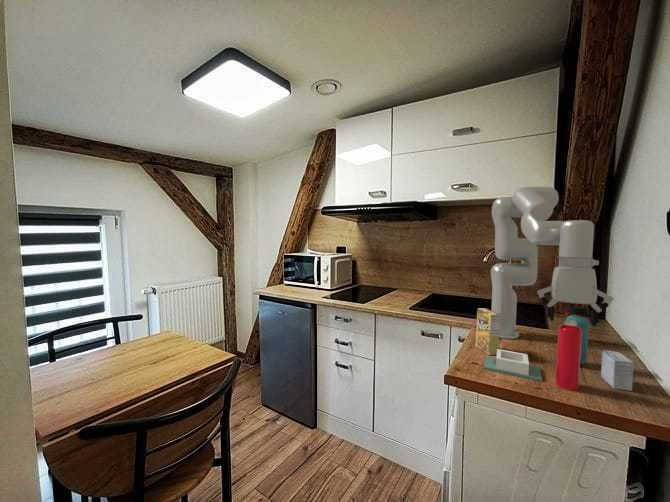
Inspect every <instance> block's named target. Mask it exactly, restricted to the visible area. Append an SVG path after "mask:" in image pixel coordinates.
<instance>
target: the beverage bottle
mask: <svg viewBox="0 0 670 502" xmlns="http://www.w3.org/2000/svg"><path fill="white" fill-rule="evenodd" d="M570 313H571V314H570V315H569V316H567V317H566V318H565V320H567V319H573V320H574V321H575V322H577V326H578V327H579V328H580V329H581V330H582V342H581V357H580V364H586V363H587V360H588V350H589V349H588V348H589V327H590V320H589V319H588V318H586V317H585V316H583V315H587V312H586V308H585V307H583V306H577V305H572V306H570Z"/></svg>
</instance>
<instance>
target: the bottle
mask: <svg viewBox="0 0 670 502" xmlns="http://www.w3.org/2000/svg"><path fill="white" fill-rule="evenodd" d="M557 328H558V332H557V348H556V351H557V352H556V361H555V362H556V363H555V364H556V366H555V378H554V379H555V381H554V383H555V385H556V386H558V387H560V388H562V389H564V390H569V391H578V390H579V388H580V385H579V383H580V371H581V363H580V357H581V342H582V330H581V329H580V328H579V327H578V326H577V322H575V321H574V320H573V319H567V320H566V319H565V320H564V323H563V324H560V325H559V326H558V327H557Z"/></svg>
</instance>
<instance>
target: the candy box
mask: <svg viewBox="0 0 670 502" xmlns="http://www.w3.org/2000/svg"><path fill="white" fill-rule="evenodd" d="M476 309H477V312H476V331H475V347H477V348H478V349H480V350H481V351H483V352H484V353H486V354H487V356H497V349H499V347H500V345H499V344H500V338H499V333H500V317H501V315H500V314H498V313H496V312H493V311H491V309H489V308H487V307H485V308H481V307H480V308H476Z"/></svg>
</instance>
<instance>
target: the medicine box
mask: <svg viewBox="0 0 670 502" xmlns="http://www.w3.org/2000/svg"><path fill="white" fill-rule="evenodd" d="M600 377H601V378H602V379H603V380H604V381H605V382H606V383H608V385H610V387H612V389H614V390H621V391H628V392H631V391H633V379H634V378H633V377H634V362H633V361H632V360H631V359H630V358H628V357H627V356H625V355H624V354H623V353H621V352H617V351H611V350H602V353H601V368H600Z"/></svg>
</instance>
